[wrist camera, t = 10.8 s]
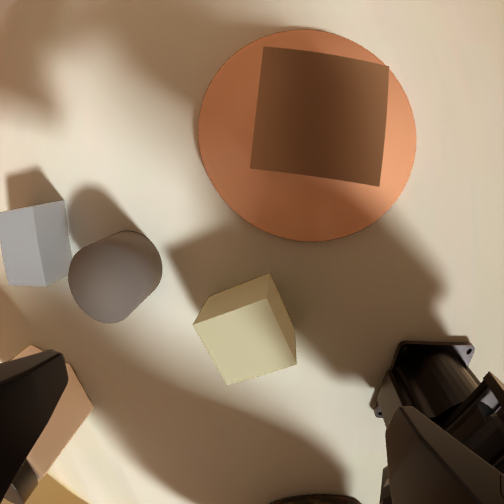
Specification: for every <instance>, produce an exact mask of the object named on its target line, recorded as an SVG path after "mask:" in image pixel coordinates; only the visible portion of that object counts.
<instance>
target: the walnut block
mask: <svg viewBox="0 0 504 504" xmlns="http://www.w3.org/2000/svg"><path fill="white" fill-rule="evenodd" d="M388 83H389V66H385V65H381V64H377V63H372V62H368V61H363V60H359V59H354V58H348V57H343V56H337V55H332V54H325V53H319V52H312V51H304V50H296V49H287V48H277V47H264V46H263V54H262V63H261V72H260V80H259V89H258V98H257V107H256V116H255V125H254V134H253V143H252V152H251V162H250V169H258V170H267V171H275V172H284V173H292V174H300V175H307V176H314V177H321V178H328V179H335V180H341V181H348V182H354V183H360V184H366V185H371V186H377V187H379V186H380V178H381V170H382V161H383V152H384V142H385V130H386V118H387V103H388Z"/></svg>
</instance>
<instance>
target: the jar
mask: <svg viewBox="0 0 504 504" xmlns="http://www.w3.org/2000/svg"><path fill="white" fill-rule="evenodd" d="M40 352H43V351H42V350H40V349H38V348H36V347H34V346H32V345H30V346H28V347H27V348H26V349H25V350H23V351H22V352H21V353H20V354H18V355H17V356H16V357H15V358H13V359H12V360H15V359H18V358H22V357H26V356H29V355H33V354H36V353H40ZM65 363H66V362H65ZM66 368H67V372H68V384H67V386H66V388H65V390H64V392H63V394H62V396H61V398H60V400H59V402H58V404H57V406H56V408H55V410H54V412H53V414H52V416H51V418H50V420H49V422H48V424H47V425H46V427H45V429H44V430H43V432H42V433H41V435H40V437H39V438H38V440H37V441H36V443H35V445H34V446H33V448H32V450H31V451H30V453H29V455H28V456H27V458H26V460H25V461H24V463H23V465H22V466H21V468H20V470H19V471H18V473H17V475H16V477H15V478H14V480H13V482H12V484H11V485H10V487H9V489H8V491H7V493H6V494H5V496H4V498H5V499H7V500H8V501H10V502H12V503H14V504H24V503H25V502H26V501H27V499H28V498H29V496H30V495H31V493H32V492H33V491H34V489H35V488H36V486H37V485H38V481H39V480H41V479H42V478H43V477H44V476H45V474H46V473H47V472H48V470H49V469H50V467H51V466H52V465H53V463H54V462H55V460H56V459H57V458H58V456H59V455H60V453H61V452H62V451H63V449H64V448H65V446H66V445H67V444H68V442H69V441H70V440H71V438H72V437H73V435H74V434H75V433H76V431H77V430H78V429H79V427H80V426H81V425H82V423H83V422H84V421H85V419H86V418H87V416H88V415H89V414H90V412H91V411H92V410H93V405H92V403H91V401H90V400H89V398H88V396H87V394H86V393H85V391H84V389H83V388H82V386H81V384H80V382H79V380H78V379H77V377H76V375H75V373H74V371H73V369H72V367H71V366H70V365H69V364H68V363H66Z"/></svg>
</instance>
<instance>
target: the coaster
mask: <svg viewBox="0 0 504 504" xmlns="http://www.w3.org/2000/svg"><path fill="white" fill-rule="evenodd" d="M263 46H264V47H277V48H287V49H296V50H304V51H312V52H319V53H325V54H332V55H337V56H343V57H348V58H354V59H359V60H363V61H368V62H372V63H377V64H381V65H385V64H384V63H383V62H382V61H381V60H380V59H378V58H377V57H376V56H375V55H374V54H373V53H371V52H370V51H368V50H367V49H365V48H364V47H362V46H361V45H359V44H357V43H355V42H353V41H351V40H349V39H347V38H344V37H341V36H338V35H335V34H331V33H327V32H322V31H314V30H291V31H285V32H279V33H275V34H272V35H268V36H265V37H263V38H260V39H258V40H256V41H254V42H252V43H250V44H248V45H247V46H245V47H244V48H242V49H240V50H239V51H238V52H237V53H235V54H234V55H233V56H232V57H231V58H229V59H228V61H227V62H226V63H225V64H224V65H223V66H222V67H221V68H220V69H219V71H218V72H217V74H216V75H215V77H214V78H213V80H212V81H211V83H210V85H209V87H208V89H207V91H206V94H205V97H204V100H203V103H202V106H201V111H200V116H199V127H198V137H199V148H200V152H201V157H202V161H203V164H204V166H205V169H206V172H207V174H208V176H209V178H210V180H211V182H212V184H213V186H214V188H215V189H216V190H217V192H218V193H219V195H220V196H221V197H222V199H223V200H224V201H225V202H226V203H227V204H228V205H229V206H230V207H231V209H232V210H233V211H235V212H236V213H237V214H238V215H239V216H241V217H242V218H243V219H244V220H246V221H248V222H249V223H251V224H252V225H254V226H255V227H257V228H259V229H261V230H263V231H266V232H268V233H270V234H273V235H276V236H279V237H282V238H286V239H292V240H297V241H311V242H313V241H327V240H332V239H337V238H341V237H344V236H347V235H350V234H353V233H355V232H357V231H359V230H361V229H363V228H365V227H367V226H369V225H370V224H372V223H373V222H375V221H376V220H377V219H379V218H380V217H381V216H382V215H383V214H384V213H385V212H386V211H388V210H389V208H390V207H391V206H392V205H393V204H394V202H395V201H396V200H397V199H398V197H399V196H400V194H401V192H402V191H403V189H404V187H405V185H406V183H407V181H408V179H409V177H410V174H411V170H412V167H413V164H414V158H415V152H416V129H415V121H414V117H413V113H412V109H411V106H410V103H409V101H408V98H407V96H406V94H405V92H404V90H403V88H402V86H401V85H400V83H399V81H398V80H397V79H396V77H395V76H394V74H393V73H392V72H391V71H390V70H389V83H388V103H387V118H386V130H385V142H384V152H383V161H382V170H381V178H380V186H379V187H377V186H371V185H366V184H360V183H354V182H348V181H341V180H335V179H328V178H321V177H314V176H307V175H300V174H292V173H284V172H275V171H267V170H258V169H250V162H251V152H252V143H253V134H254V125H255V116H256V107H257V98H258V89H259V80H260V72H261V63H262V54H263ZM385 66H386V65H385Z"/></svg>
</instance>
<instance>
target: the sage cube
mask: <svg viewBox="0 0 504 504" xmlns="http://www.w3.org/2000/svg"><path fill="white" fill-rule="evenodd" d="M193 326H194V328H195V330H196V332H197V334H198V336H199V337H200V339H201V341H202V343H203V345H204V346H205V348H206V350H207V352H208V353H209V355H210V357H211V359H212V360H213V362H214V364H215V366H216V367H217V369H218V371H219V373H220V374H221V376H222V378H223V379H224V381H225V383H226V384H227V385H230V384H233V383H237V382H241V381H244V380H248V379H251V378H254V377H258V376H261V375H264V374H268V373H271V372H274V371H277V370H281V369H284V368H287V367H290V366H293V365H296V364H297V361H296V341H295V329H294V327H293V324H292V322H291V320H290V317H289V315H288V313H287V311H286V308H285V306H284V304H283V301H282V299H281V297H280V295H279V292H278V290H277V288H276V286H275V283H274V281H273V279H272V276H271V274H270V273H268V274H266V275H263V276H261V277H258V278H256V279H253V280H251V281H248V282H245V283H243V284H240V285H238V286H235V287H232V288H230V289H227V290H225V291H222V292H219V293H217V294H214V295H211V296H209V298H208V299H207V301H206V303H205V304H204V306H203V308H202V310H201V311H200V313H199V315H198V316H197V318H196V320H195V322H194V323H193Z"/></svg>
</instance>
